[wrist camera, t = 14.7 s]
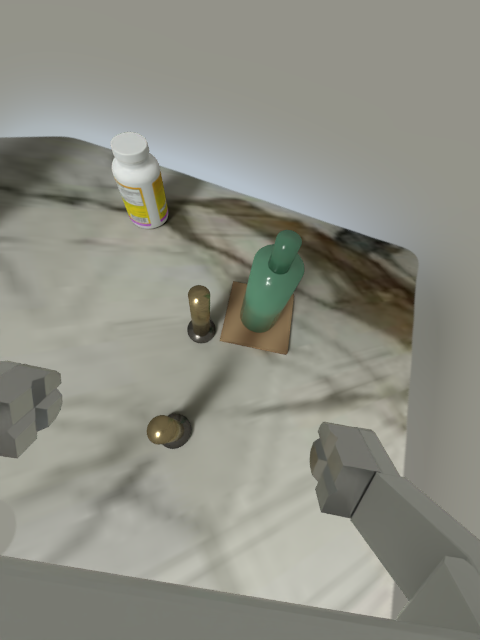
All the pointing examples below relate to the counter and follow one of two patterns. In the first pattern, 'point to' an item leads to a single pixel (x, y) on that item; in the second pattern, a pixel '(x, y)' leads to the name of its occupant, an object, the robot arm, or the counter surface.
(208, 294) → the post
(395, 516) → the robot arm
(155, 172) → the supplement bottle
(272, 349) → the plate
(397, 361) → the counter surface
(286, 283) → the bottle
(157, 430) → the post
